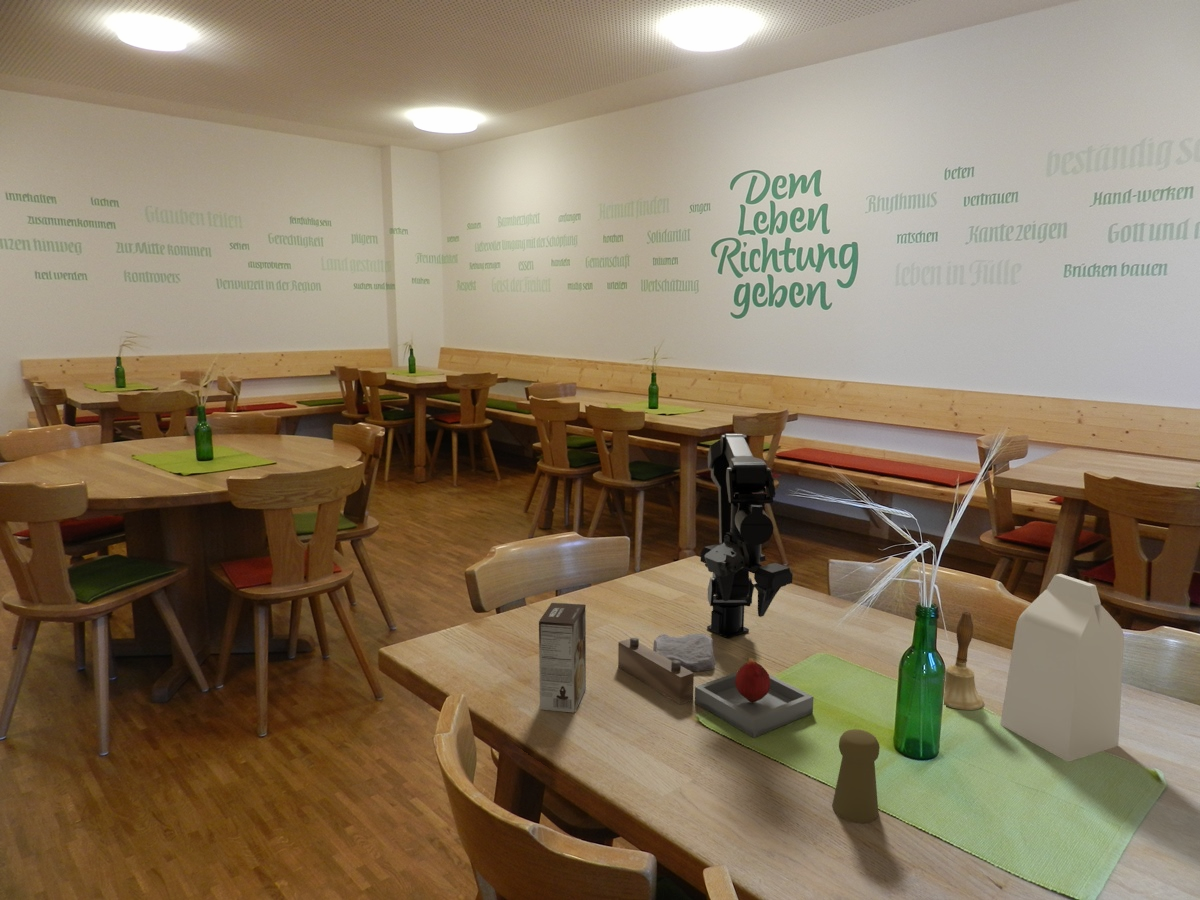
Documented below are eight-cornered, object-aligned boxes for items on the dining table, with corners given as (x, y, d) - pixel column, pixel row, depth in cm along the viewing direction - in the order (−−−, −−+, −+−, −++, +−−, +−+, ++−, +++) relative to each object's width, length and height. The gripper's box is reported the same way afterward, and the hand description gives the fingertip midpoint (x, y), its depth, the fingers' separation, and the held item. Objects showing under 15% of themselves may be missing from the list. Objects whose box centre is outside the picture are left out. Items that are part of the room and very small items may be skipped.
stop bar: (630, 662, 154) (631, 632, 153) (693, 699, 140) (693, 666, 139) (618, 666, 153) (618, 635, 151) (679, 704, 138) (680, 670, 137)
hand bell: (959, 685, 146) (967, 601, 143) (994, 706, 138) (1003, 618, 135) (921, 691, 143) (928, 606, 140) (955, 713, 135) (963, 624, 133)
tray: (752, 681, 146) (753, 666, 146) (812, 713, 135) (813, 696, 135) (694, 702, 139) (695, 686, 138) (753, 737, 127) (754, 720, 127)
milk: (1000, 724, 132) (1014, 572, 127) (1049, 711, 136) (1064, 564, 132) (1067, 761, 121) (1086, 597, 116) (1118, 745, 125) (1138, 587, 121)
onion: (771, 694, 139) (770, 651, 137) (769, 711, 133) (768, 667, 132) (737, 692, 140) (736, 649, 139) (734, 709, 135) (733, 665, 133)
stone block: (717, 680, 151) (712, 649, 161) (717, 659, 150) (712, 628, 159) (654, 681, 152) (652, 649, 161) (654, 660, 150) (652, 629, 159)
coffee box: (551, 685, 145) (551, 601, 142) (586, 688, 144) (586, 603, 141) (538, 710, 136) (538, 620, 133) (575, 713, 135) (575, 623, 132)
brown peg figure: (825, 797, 112) (829, 724, 110) (867, 795, 112) (872, 722, 111) (841, 824, 106) (846, 747, 104) (886, 822, 106) (891, 745, 105)
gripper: (679, 523, 151) (678, 602, 154) (751, 549, 136) (748, 635, 139) (723, 514, 157) (720, 590, 160) (796, 538, 142) (792, 621, 145)
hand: (743, 608), depth 151 cm, fingers open, 9 cm apart
